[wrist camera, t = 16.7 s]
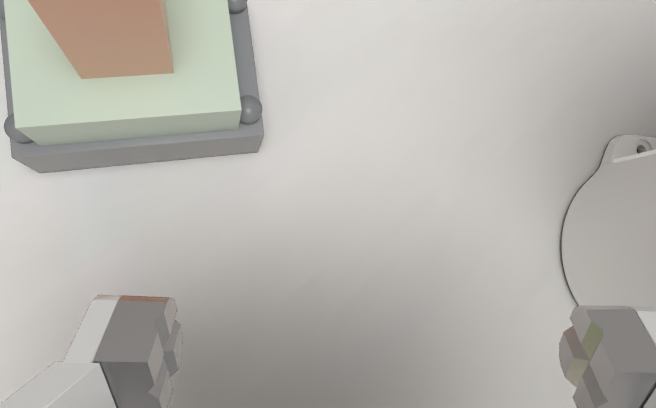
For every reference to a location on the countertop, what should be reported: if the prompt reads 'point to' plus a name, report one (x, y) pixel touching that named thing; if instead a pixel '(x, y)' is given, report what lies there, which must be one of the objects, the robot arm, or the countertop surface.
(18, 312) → the countertop surface
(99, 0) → the orange knobbed block
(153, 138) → the green-topped grey pedestal
